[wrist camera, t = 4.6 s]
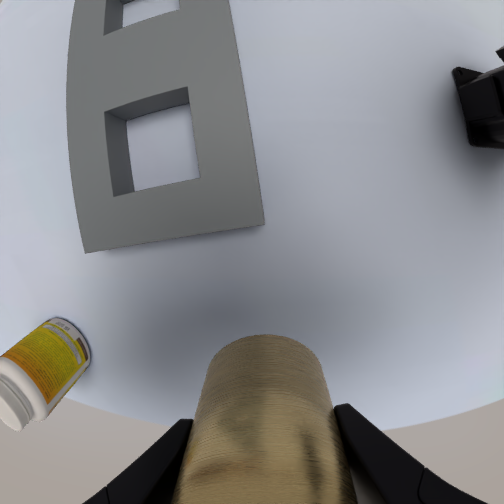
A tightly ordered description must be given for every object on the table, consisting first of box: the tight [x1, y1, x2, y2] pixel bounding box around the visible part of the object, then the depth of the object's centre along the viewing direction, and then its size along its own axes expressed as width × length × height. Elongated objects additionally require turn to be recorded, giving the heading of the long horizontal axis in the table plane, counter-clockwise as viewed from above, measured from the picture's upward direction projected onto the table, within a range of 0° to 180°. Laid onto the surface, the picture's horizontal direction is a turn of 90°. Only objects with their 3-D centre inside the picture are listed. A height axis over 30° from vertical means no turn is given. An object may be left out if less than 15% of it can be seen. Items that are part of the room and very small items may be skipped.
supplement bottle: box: [0, 318, 90, 431], centre depth 16 cm, size 6×6×10 cm
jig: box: [66, 0, 265, 254], centre depth 14 cm, size 11×22×3 cm, turn 9°
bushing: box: [171, 335, 358, 504], centre depth 5 cm, size 4×4×8 cm
